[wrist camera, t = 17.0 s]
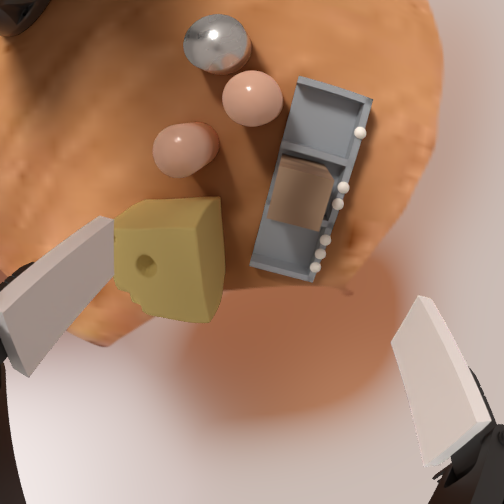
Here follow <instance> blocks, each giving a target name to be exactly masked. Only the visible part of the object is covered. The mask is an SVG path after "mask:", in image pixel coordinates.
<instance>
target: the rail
mask: <svg viewBox="0 0 504 504" xmlns="http://www.w3.org/2000/svg"><path fill="white" fill-rule="evenodd" d="M372 101H373V99H371V98H368V97H365V96H362V95H360V94H357V93H354V92H351V91H348V90H345V89H342V88H339V87H336V86H333V85H330V84H326V83H323V82H320V81H316V80H313V79H309V78H305V77H302V76H299V77H298V81H297V85H296V89H295V93H294V97H293V101H292V105H291V108H290V112H289V116H288V120H287V124H286V128H285V131H284V135H283V139H282V142H281V146H280V151H279V154H278V158H277V162H276V166H275V170H274V173H273V177H272V181H271V185H270V189H269V193H268V196H267V200H266V204H265V207H264V212H263V216H262V219H261V223H260V227H259V231H258V235H257V238H256V242H255V246H254V250H253V254H252V257H251V261H250V265H249V266H251V267H255V268H259V269H263V270H266V271H270V272H274V273H278V274H281V275H285V276H289V277H293V278H297V279H301V280H304V281H308V282H312V283H313V280H314V278H315V275H316V273H317V272H319V271H320V269H321V265H320V262H321V259H323V258H325V256H326V252H325V249H326V246H327V245H329V244H330V243H331V237H330V235H331V232H332V229H333V226H334V224H335V221H336V218H337V215H338V212H339V210H340V209H342V208H343V206H344V202H343V197H344V194H345V193H347V192H348V191H349V185H348V182H349V179H350V176H351V173H352V170H353V166H354V163H355V160H356V157H357V153H358V150H359V147H360V144H361V140H362V139H363V138H365V136H366V130H365V126H366V123H367V119H368V116H369V112H370V109H371V105H372ZM282 153H283V154H287V155H291V156H295V157H299V158H303V159H307V160H310V161H314V162H318V163H321V164H324V165H325V166H326V168H327V169H328V171H329V173H330V174H331V176H332V177H333V179H334V184H333V188H332V191H331V194H330V198H329V201H328V204H327V208H326V211H325V214H324V217H323V220H322V224H321V227H320V230H319V232H318V231H314V230H311V229H307V228H303V227H299V226H295V225H291V224H287V223H283V222H279V221H275V220H271V219H267V214H268V210H269V206H270V201H271V197H272V193H273V189H274V185H275V181H276V177H277V173H278V169H279V165H280V160H281V156H282Z"/></svg>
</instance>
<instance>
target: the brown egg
mask: <svg viewBox="0 0 504 504" xmlns="http://www.w3.org/2000/svg"><path fill="white" fill-rule="evenodd" d="M218 150H219V138H218V135H217V133H216V132H215V130H214V129H213V128H212V127H211V126H209V125H208V124H205V123H202V122H192V123H184V124H177V125H172V126H169V127H167V128H165V129H163V130H162V131H161V132H160V133H159V134H158V136H157V137H156V139H155V141H154V145H153V158H154V161H155V163H156V165H157V167H158V168H159V169H160V170H161V171H162V172H163V173H164V174H166V175H168V176H170V177H173V178H184V177H187V176H190V175H191V174H193V173H194V172H196V171H198V170H199V169H201V168H202V167H204V166H205V165H207V164H208V163H210V162H211V161H212V160H213V159H214V158H215V157H216V155H217V153H218Z"/></svg>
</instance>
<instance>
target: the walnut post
mask: <svg viewBox="0 0 504 504" xmlns="http://www.w3.org/2000/svg"><path fill="white" fill-rule="evenodd" d="M333 184H334V179H333V177H332V176H331V174H330V173H329V171H328V169H327V168H326V166H325V165H324V164H321V163H318V162H314V161H310V160H307V159H303V158H299V157H295V156H291V155H287V154H283V153H282V156H281V160H280V165H279V169H278V173H277V177H276V181H275V185H274V189H273V193H272V197H271V201H270V206H269V210H268V214H267V219H271V220H275V221H279V222H283V223H287V224H291V225H295V226H299V227H303V228H307V229H311V230H314V231H318V232H319V230H320V227H321V224H322V220H323V217H324V214H325V211H326V208H327V204H328V201H329V198H330V194H331V191H332V188H333Z"/></svg>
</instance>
